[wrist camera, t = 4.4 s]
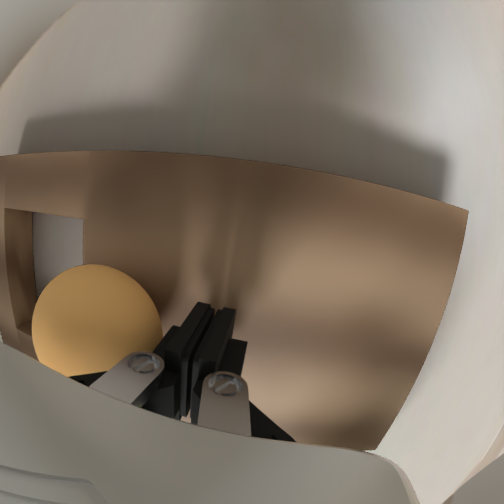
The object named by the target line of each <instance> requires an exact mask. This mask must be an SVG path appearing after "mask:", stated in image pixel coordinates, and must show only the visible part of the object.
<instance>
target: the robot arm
mask: <svg viewBox="0 0 504 504" xmlns="http://www.w3.org/2000/svg"><path fill="white" fill-rule="evenodd" d="M214 314H215V308H211V304H207V303H202V302H197V303H196V305H195V306H194V308H193V309H192V311H191V312H190V313H189V315H188V316H187V318H186V319H185V320H184V322H183V323H182V325H181V326H180V327H179V326H175V325H173V326H172V327H171V328H170V329H169V331H168V332H167V333H166V335H165V336H164V337H163V339H162V340H161V341H160V343H159V344H158V345H157V347H156V348H155V349H154V350H153V352H152V353H151V352H147V351H137V352H133V353H131V354H129V355H127V356H126V357H125V358H123V359H122V360H121V361H120V362H118V363H117V364H116V365H115V366H114V367H112V368H111V369H110V370H109V371H103V372H97V373H90V374H83V375H75V376H70V377H67V376H65V375H63V374H61V373H59V372H57V371H55V370H53V369H51V368H50V367H48V366H46V365H44V364H42V363H41V362H39V361H37V360H35V359H33V358H32V357H30V356H28V355H26V354H24V353H23V352H21V351H19V350H18V349H15V348H13V347H11V346H9V345H7V344H4V343H2V342H0V504H420V503H419V501H418V498H417V495H416V493H415V490H414V488H413V486H412V484H411V482H410V480H409V478H408V477H407V475H406V474H405V472H404V471H403V470H402V469H401V468H400V467H399V466H398V465H397V464H395V463H394V462H392V461H391V460H388V459H386V458H384V457H381V456H379V455H375V454H372V453H368V452H365V451H361V450H355V449H350V448H345V447H336V446H328V445H316V444H306V443H298V442H296V441H295V440H294V439H293V438H292V437H291V436H290V435H289V434H287V433H286V432H285V431H284V430H283V429H281V428H280V427H279V426H278V425H277V424H275V423H274V422H273V421H272V420H271V419H270V418H268V417H267V416H266V415H265V414H264V413H263V412H262V411H261V410H259V409H258V408H257V407H256V406H255V405H254V404H253V403H252V402H251V401H249V393H248V385H247V382H246V381H245V380H244V379H243V378H242V377H241V374H242V369H243V365H244V359H245V354H246V349H247V343H248V341H243V340H237V339H232V335H233V329H234V322H235V316H236V309H232V308H227V307H223V309H222V310H220V309H218V310H217V312H216V314H215V316H214ZM189 410H190V418H191V423H188V422H184V421H181V417H182V416H184V417H187V415H188V413H189Z"/></svg>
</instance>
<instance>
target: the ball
mask: <svg viewBox="0 0 504 504" xmlns="http://www.w3.org/2000/svg"><path fill="white" fill-rule="evenodd" d="M32 339H33V345H34V348H35V352H36V354H37V357H38V359H39V361H40V362H41V363H42V364H44V365H46V366H48V367H50V368H51V369H53V370H55V371H57V372H59V373H61V374H63V375H65V376H67V377H70V376H75V375H83V374H90V373H97V372H103V371H109V370H110V369H111V368H112V367H114V366H115V365H116V364H117V363H118V362H120V361H121V360H122V359H123V358H125V357H126V356H127V355H129V354H131V353H133V352H137V351H147V352H151V353H152V352H153V350H154V349H155V348H156V347H157V345H158V344H159V343H160V341H161V340H162V339H163V331H162V324H161V320H160V317H159V314H158V311H157V309H156V307H155V305H154V303H153V301H152V299H151V298H150V296H149V295H148V294H147V292H146V291H145V290H144V289H143V288H142V287H141V285H140V284H139V283H137V282H136V281H135V280H134V279H133V278H131V277H130V276H128V275H127V274H125V273H123V272H121V271H119V270H117V269H115V268H112V267H108V266H104V265H95V264H88V265H81V266H76V267H73V268H70V269H68V270H66V271H64V272H62V273H60V274H59V275H58V276H56V277H55V278H54V279H52V280H51V281H50V282H49V283H48V285H47V286H46V287H45V288H44V290H43V291H42V293H41V294H40V296H39V298H38V301H37V303H36V305H35V309H34V313H33V317H32Z"/></svg>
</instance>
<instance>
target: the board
mask: <svg viewBox="0 0 504 504" xmlns="http://www.w3.org/2000/svg"><path fill="white" fill-rule="evenodd" d="M33 212H38V213H45V214H52V215H59V216H66V217H73V218H80V219H84V222H83V265H88V264H95V265H104V266H108V267H112V268H115V269H117V270H119V271H121V272H123V273H125V274H127V275H128V276H130V277H131V278H133V279H134V280H135V281H136V282H137V283H139V284H140V285H141V287H142V288H143V289H144V290H145V291H146V292H147V294H148V295H149V296H150V298H151V299H152V301H153V303H154V305H155V307H156V309H157V311H158V314H159V317H160V320H161V324H162V331H163V337H164V336H165V335H166V333H167V332H168V331H169V329H170V328H171V327H172V326H173V325H175V326H179V327H180V326H181V325H182V323H183V322H184V320H185V319H186V318H187V316H188V315H189V313H190V312H191V311H192V309H193V308H194V306H195V305H196V303H197V302H202V303H207V304H211V308H215V314H216V312H217V310H218V309H220V310H222V309H223V307H227V308H232V309H236V316H235V322H234V329H233V335H232V339H237V340H243V341H248V343H247V349H246V354H245V359H244V365H243V369H242V374H241V377H242V378H243V379H244V380H245V381H246V382H247V385H248V393H249V401H251V402H252V403H253V404H254V405H255V406H256V407H257V408H258V409H259V410H261V411H262V412H263V413H264V414H265V415H266V416H267V417H268V418H270V419H271V420H272V421H273V422H274V423H275V424H277V425H278V426H279V427H280V428H281V429H283V430H284V431H285V432H286V433H287V434H289V435H290V436H291V437H292V438H293V439H294V440H295V441H296V442H298V443H306V444H316V445H328V446H336V447H345V448H350V449H355V450H361V451H364V450H375V449H376V448H377V447H378V445H379V444H380V442H381V440H382V439H383V437H384V436H385V434H386V433H387V431H388V429H389V428H390V426H391V425H392V423H393V421H394V420H395V418H396V416H397V414H398V413H399V411H400V409H401V407H402V406H403V404H404V402H405V400H406V398H407V396H408V394H409V393H410V391H411V389H412V387H413V385H414V383H415V381H416V379H417V377H418V374H419V372H420V370H421V368H422V366H423V364H424V361H425V359H426V357H427V355H428V352H429V350H430V348H431V345H432V343H433V340H434V338H435V335H436V333H437V330H438V327H439V325H440V322H441V319H442V316H443V313H444V310H445V307H446V304H447V301H448V298H449V295H450V292H451V288H452V285H453V281H454V278H455V274H456V270H457V266H458V262H459V258H460V254H461V250H462V245H463V240H464V235H465V230H466V224H467V219H468V212H469V211H468V210H465V209H462V208H459V207H456V206H453V205H450V204H447V203H444V202H441V201H437V200H434V199H431V198H427V197H424V196H421V195H417V194H414V193H410V192H406V191H403V190H399V189H395V188H391V187H387V186H383V185H379V184H375V183H371V182H367V181H362V180H358V179H354V178H349V177H344V176H340V175H335V174H330V173H325V172H319V171H314V170H309V169H303V168H297V167H291V166H285V165H279V164H272V163H265V162H258V161H251V160H243V159H235V158H226V157H216V156H206V155H195V154H182V153H167V152H148V151H59V152H41V153H28V154H17V155H7V156H0V331H1V335H2V339H3V343H4V344H7V345H9V346H11V347H13V348H15V349H18V350H19V351H21V352H23V353H24V354H26V355H28V356H30V357H32V358H33V359H35V360H37V361H39V359H38V357H37V354H36V352H35V348H34V345H33V339H32V317H33V313H34V309H35V305H36V303H37V295H36V286H35V276H34V263H33V241H32V213H33ZM215 314H214V316H215ZM39 362H40V361H39ZM181 421H184V422H188V423H191V418H190V410H189V413H188V415H187V417H184V416H182V417H181Z"/></svg>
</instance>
